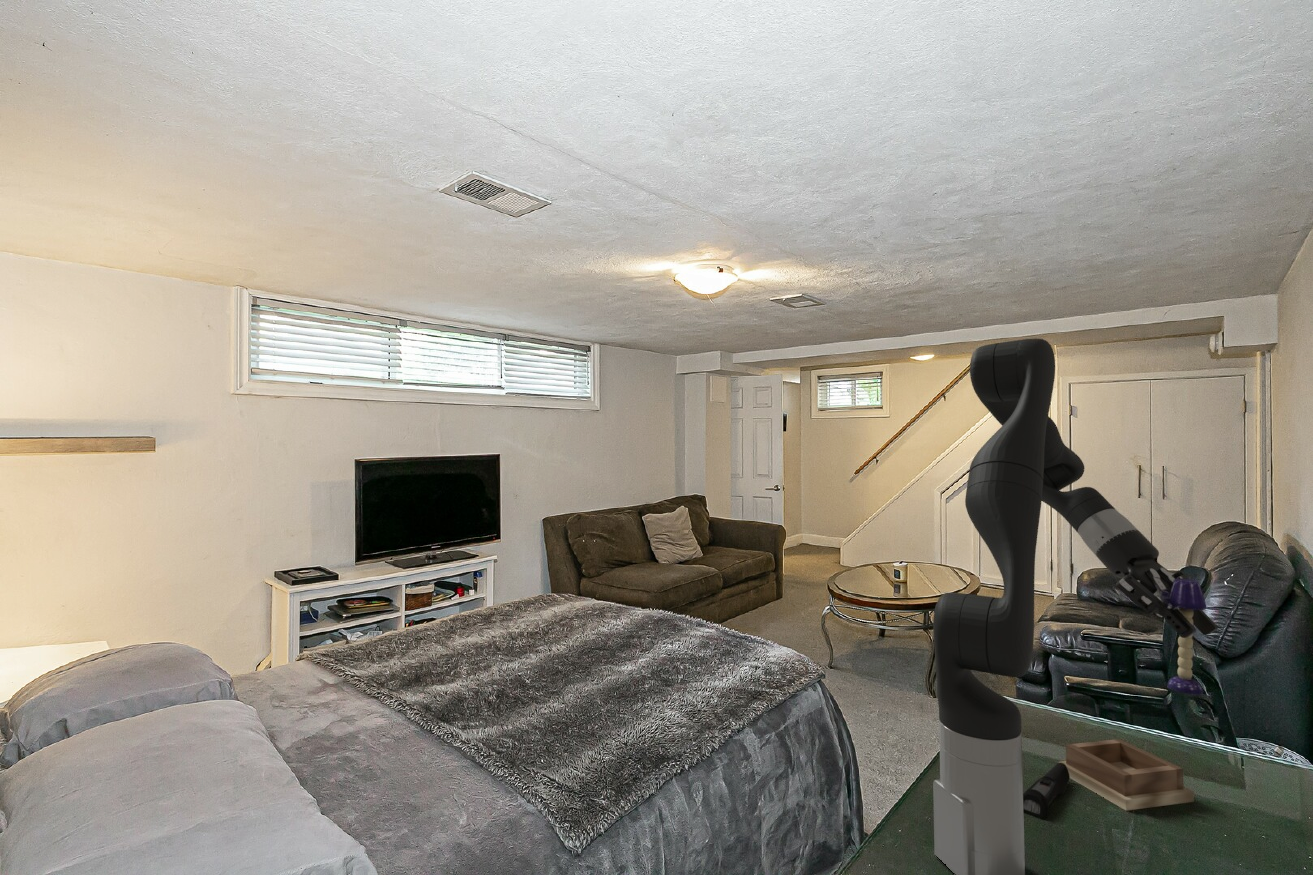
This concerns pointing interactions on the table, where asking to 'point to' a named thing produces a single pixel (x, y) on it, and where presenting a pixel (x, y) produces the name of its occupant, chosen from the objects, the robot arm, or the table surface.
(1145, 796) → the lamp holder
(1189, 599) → the toy lamp
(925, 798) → the table surface
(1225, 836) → the table surface
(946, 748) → the robot arm
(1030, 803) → the electric trimmer
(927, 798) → the table surface
